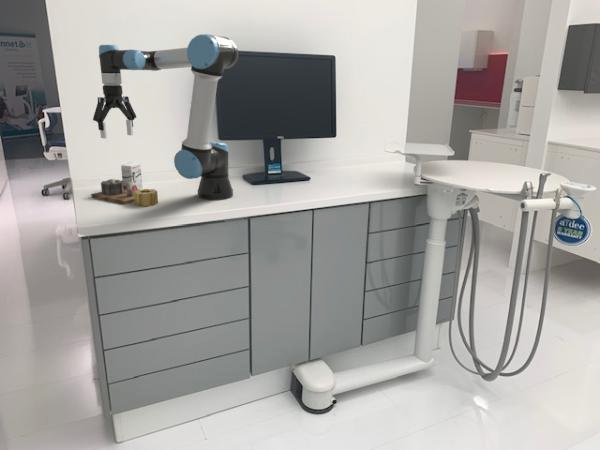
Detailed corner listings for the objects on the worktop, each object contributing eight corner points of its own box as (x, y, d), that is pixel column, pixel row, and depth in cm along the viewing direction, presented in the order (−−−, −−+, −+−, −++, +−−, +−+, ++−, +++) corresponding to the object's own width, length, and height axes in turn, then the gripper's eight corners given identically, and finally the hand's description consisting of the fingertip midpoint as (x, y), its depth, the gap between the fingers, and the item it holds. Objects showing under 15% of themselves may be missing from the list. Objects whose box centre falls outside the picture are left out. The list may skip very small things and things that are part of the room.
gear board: (151, 197, 201) (150, 181, 199) (125, 204, 190) (123, 187, 188) (118, 191, 211) (117, 175, 209) (91, 197, 199) (89, 181, 197)
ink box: (132, 192, 209) (130, 165, 205) (122, 191, 210) (120, 165, 206) (143, 188, 217) (141, 162, 213) (133, 187, 218) (131, 161, 214)
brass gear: (162, 202, 194) (161, 190, 192) (146, 207, 187) (145, 195, 185) (147, 199, 198) (146, 187, 196) (130, 204, 191) (129, 192, 189)
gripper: (130, 84, 210) (134, 133, 216) (79, 84, 189) (86, 138, 195) (142, 84, 206) (146, 134, 212) (91, 85, 186) (98, 140, 192)
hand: (117, 136), depth 204 cm, fingers open, 13 cm apart
